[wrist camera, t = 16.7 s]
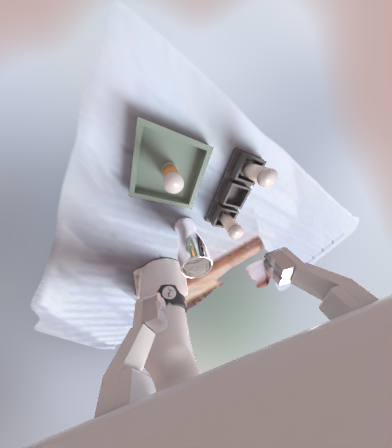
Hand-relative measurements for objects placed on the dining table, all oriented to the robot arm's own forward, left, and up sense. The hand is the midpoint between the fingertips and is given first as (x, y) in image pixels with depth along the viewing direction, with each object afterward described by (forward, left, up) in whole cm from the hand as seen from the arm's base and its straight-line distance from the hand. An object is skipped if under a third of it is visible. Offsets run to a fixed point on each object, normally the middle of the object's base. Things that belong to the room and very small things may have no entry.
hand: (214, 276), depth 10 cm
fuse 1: (-6, -15, -26) cm, 31 cm away
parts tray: (+1, +2, -27) cm, 27 cm away
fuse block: (0, -15, -27) cm, 31 cm away
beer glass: (-13, -6, -27) cm, 31 cm away
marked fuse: (+1, +2, -26) cm, 26 cm away
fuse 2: (+7, -15, -26) cm, 31 cm away
